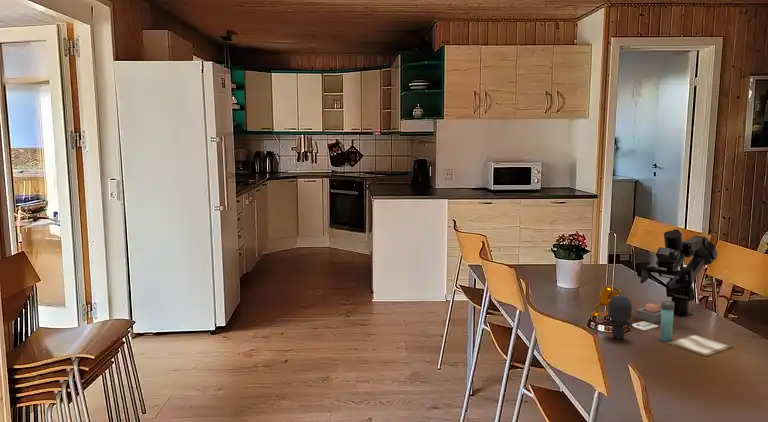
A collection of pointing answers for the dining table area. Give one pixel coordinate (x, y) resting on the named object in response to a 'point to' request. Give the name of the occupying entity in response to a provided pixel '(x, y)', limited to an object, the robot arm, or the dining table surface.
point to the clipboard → (700, 345)
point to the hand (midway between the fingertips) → (654, 284)
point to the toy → (619, 315)
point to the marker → (666, 321)
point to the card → (644, 325)
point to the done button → (652, 308)
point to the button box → (648, 315)
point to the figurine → (605, 299)
